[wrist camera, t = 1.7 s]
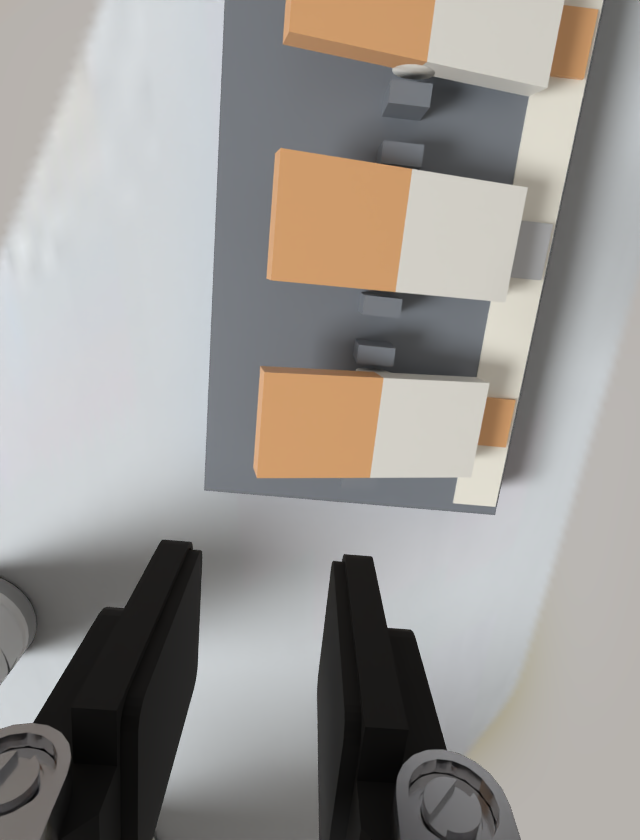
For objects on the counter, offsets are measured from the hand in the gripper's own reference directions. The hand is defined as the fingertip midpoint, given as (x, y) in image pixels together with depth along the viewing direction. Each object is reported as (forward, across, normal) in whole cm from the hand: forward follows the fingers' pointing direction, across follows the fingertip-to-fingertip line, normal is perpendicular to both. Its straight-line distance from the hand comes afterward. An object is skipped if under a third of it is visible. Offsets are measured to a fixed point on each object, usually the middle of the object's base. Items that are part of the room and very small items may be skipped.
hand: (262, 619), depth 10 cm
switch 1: (+14, -4, -16) cm, 22 cm away
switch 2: (+14, -4, -8) cm, 17 cm away
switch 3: (+14, -4, 0) cm, 15 cm away
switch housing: (+19, -4, -8) cm, 21 cm away
